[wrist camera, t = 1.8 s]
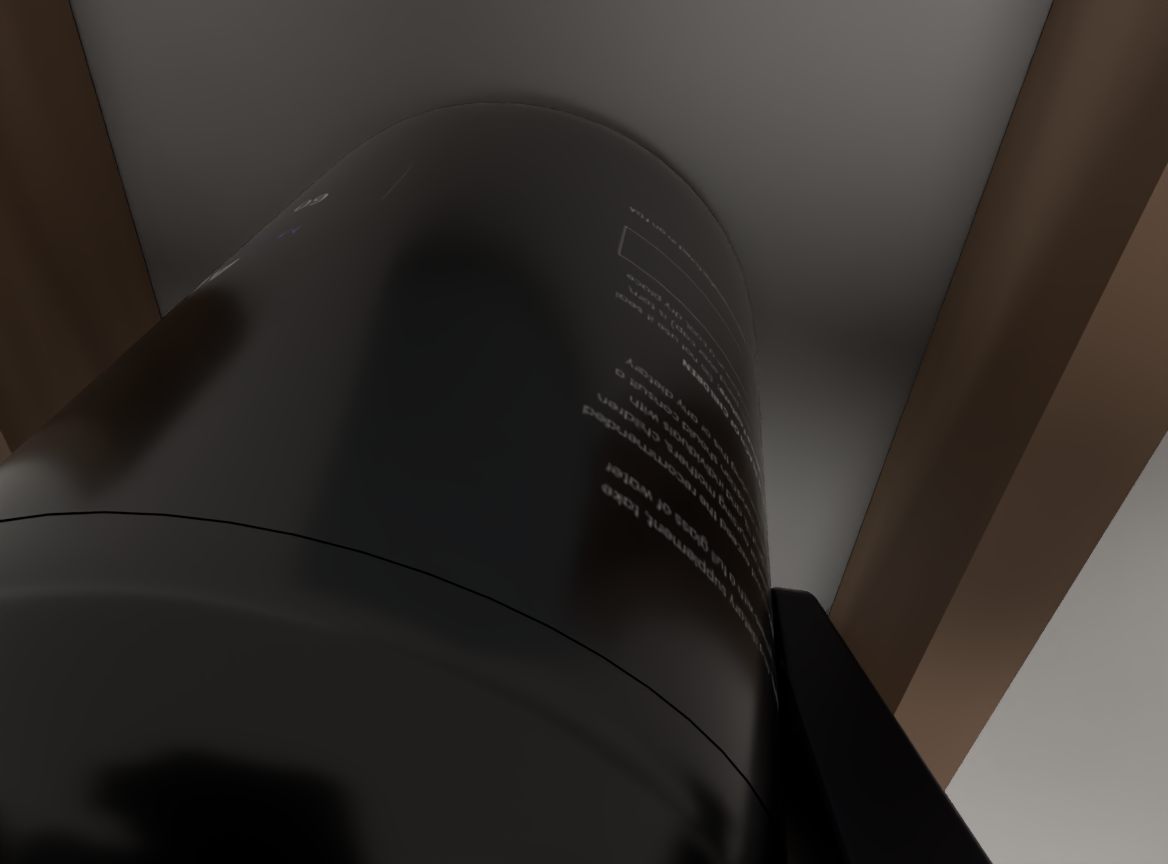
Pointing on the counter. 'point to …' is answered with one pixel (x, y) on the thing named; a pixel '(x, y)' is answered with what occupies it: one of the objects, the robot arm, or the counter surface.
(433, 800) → the supplement bottle
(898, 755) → the robot arm
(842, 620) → the walnut frame
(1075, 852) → the counter surface
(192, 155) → the counter surface
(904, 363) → the counter surface
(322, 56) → the counter surface
